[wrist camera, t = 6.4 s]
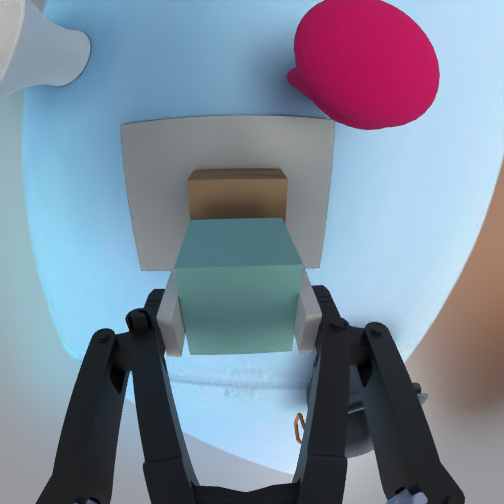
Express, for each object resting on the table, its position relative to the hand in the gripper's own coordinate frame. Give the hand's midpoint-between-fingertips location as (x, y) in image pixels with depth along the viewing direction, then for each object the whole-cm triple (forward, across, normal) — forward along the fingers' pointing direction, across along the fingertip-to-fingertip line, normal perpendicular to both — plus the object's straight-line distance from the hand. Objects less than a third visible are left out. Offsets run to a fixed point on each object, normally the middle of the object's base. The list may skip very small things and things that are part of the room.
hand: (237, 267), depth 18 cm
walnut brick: (+10, 0, 0) cm, 10 cm away
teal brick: (+1, 0, 0) cm, 1 cm away
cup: (+11, -18, +18) cm, 28 cm away
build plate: (+11, -1, +1) cm, 11 cm away
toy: (+11, +7, +14) cm, 19 cm away
